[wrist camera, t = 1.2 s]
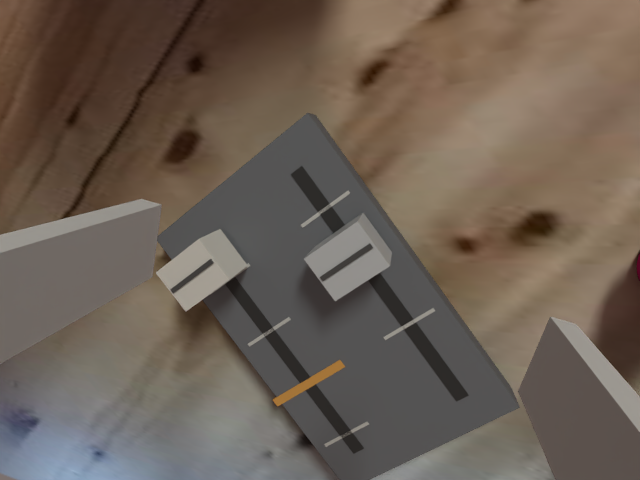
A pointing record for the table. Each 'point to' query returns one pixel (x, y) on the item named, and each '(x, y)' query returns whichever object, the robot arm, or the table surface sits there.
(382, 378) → the console
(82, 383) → the table surface
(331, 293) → the fader front
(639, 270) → the pepper mill
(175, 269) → the fader rear
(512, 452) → the table surface
